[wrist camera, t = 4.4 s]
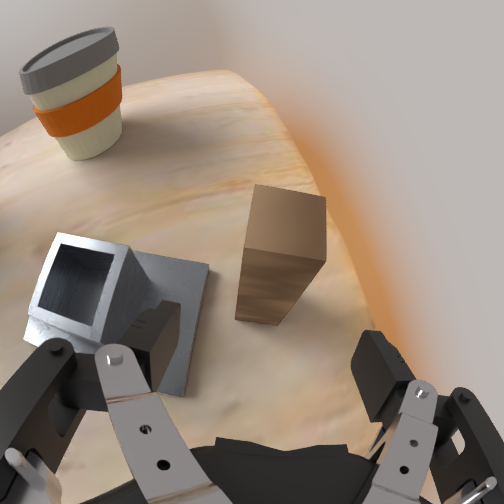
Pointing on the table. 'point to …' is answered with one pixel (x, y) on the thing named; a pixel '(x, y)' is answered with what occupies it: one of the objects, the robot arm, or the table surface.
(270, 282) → the brown square block
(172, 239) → the table surface
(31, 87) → the reusable coffee cup
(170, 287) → the grey square tube bracket
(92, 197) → the table surface
